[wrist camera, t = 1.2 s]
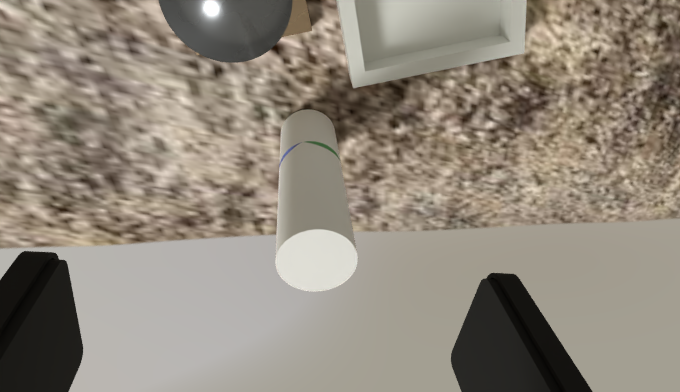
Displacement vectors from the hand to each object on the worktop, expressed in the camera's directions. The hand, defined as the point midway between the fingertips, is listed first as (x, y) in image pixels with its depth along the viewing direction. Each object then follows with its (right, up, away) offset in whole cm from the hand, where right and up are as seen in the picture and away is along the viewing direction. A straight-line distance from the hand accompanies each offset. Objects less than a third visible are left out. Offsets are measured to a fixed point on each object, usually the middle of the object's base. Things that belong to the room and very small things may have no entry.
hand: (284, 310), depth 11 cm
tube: (-1, +8, +26) cm, 27 cm away
